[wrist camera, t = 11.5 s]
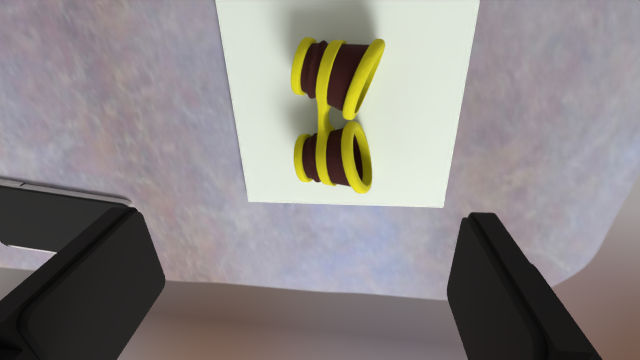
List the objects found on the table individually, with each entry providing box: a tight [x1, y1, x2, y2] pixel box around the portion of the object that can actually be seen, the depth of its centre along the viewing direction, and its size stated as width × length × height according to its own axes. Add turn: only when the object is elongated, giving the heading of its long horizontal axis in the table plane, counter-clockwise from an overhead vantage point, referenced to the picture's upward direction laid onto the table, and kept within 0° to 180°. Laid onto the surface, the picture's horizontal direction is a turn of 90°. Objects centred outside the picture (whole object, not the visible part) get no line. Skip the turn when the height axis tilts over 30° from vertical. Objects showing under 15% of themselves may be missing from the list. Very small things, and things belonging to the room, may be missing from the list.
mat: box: [215, 0, 480, 208], centre depth 23 cm, size 16×16×1 cm
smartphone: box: [0, 179, 134, 254], centre depth 32 cm, size 8×1×15 cm
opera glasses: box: [291, 37, 385, 194], centre depth 21 cm, size 10×5×5 cm, turn 179°
